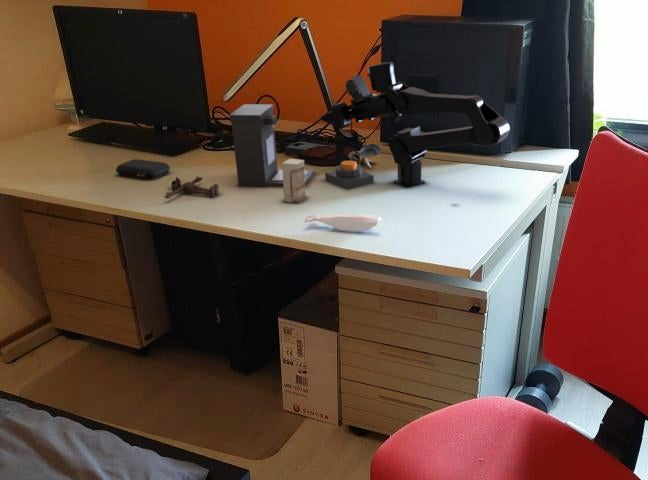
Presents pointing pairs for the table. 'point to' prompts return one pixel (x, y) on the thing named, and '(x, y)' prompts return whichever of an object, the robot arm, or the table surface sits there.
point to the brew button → (348, 165)
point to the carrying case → (143, 169)
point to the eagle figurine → (365, 154)
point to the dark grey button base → (349, 177)
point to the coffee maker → (257, 146)
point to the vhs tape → (300, 148)
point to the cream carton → (294, 180)
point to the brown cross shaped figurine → (191, 188)
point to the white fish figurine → (347, 221)
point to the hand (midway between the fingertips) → (330, 114)
